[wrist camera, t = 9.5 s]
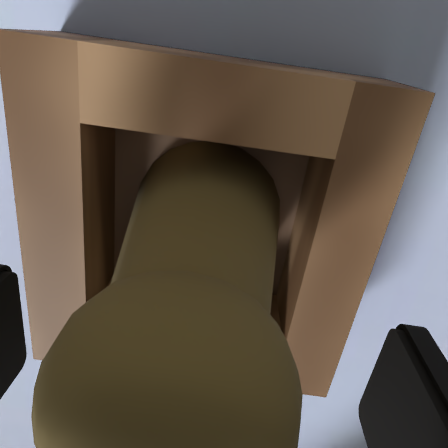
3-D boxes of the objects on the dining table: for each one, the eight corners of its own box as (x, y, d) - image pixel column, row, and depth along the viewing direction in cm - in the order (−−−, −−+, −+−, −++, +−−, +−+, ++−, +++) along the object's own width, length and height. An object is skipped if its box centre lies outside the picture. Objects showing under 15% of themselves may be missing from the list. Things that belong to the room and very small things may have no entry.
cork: (167, 113, 14) (5, 276, 5) (307, 179, 15) (427, 437, 5) (118, 240, 17) (-57, 524, 7) (241, 291, 18) (240, 606, 8)
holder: (385, 79, 14) (435, 93, 10) (310, 330, 19) (326, 397, 16) (59, 31, 14) (-5, 28, 10) (73, 298, 19) (33, 358, 15)
